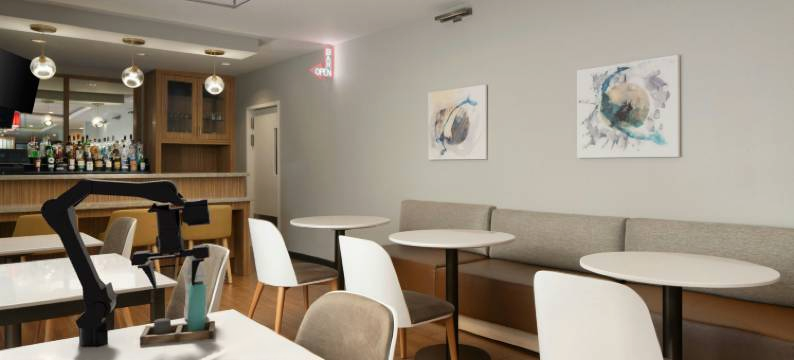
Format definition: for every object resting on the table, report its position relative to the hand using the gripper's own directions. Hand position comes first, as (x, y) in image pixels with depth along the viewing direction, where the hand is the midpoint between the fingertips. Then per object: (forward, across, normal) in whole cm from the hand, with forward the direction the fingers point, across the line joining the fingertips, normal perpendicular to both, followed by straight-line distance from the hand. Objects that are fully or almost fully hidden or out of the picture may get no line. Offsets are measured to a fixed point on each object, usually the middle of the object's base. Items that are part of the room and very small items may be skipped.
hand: (174, 287), depth 147 cm
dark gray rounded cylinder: (+13, +4, 0) cm, 13 cm away
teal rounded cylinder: (+13, -4, 0) cm, 14 cm away
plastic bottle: (+14, -3, -16) cm, 22 cm away
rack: (+14, 0, 0) cm, 14 cm away
